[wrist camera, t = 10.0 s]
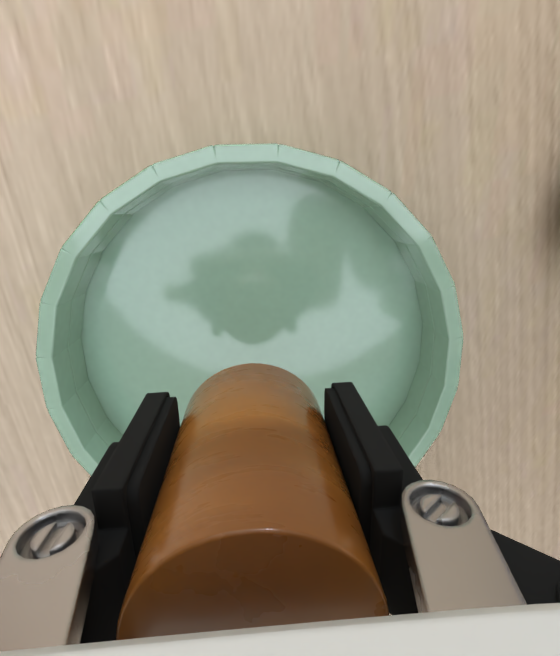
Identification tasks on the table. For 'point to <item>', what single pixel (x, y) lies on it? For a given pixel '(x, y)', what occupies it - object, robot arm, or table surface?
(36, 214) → the table surface
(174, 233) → the green bowl
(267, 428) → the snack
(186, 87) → the table surface
